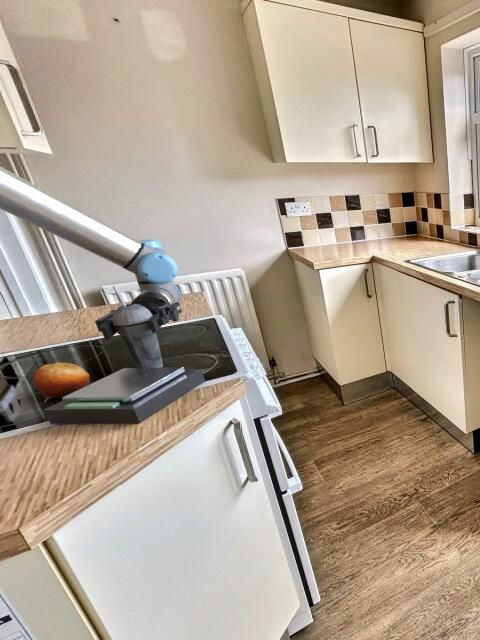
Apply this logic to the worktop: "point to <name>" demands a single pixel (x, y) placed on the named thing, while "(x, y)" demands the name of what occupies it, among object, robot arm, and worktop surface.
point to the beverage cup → (137, 334)
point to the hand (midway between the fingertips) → (129, 330)
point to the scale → (125, 404)
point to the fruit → (60, 379)
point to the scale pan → (124, 385)
